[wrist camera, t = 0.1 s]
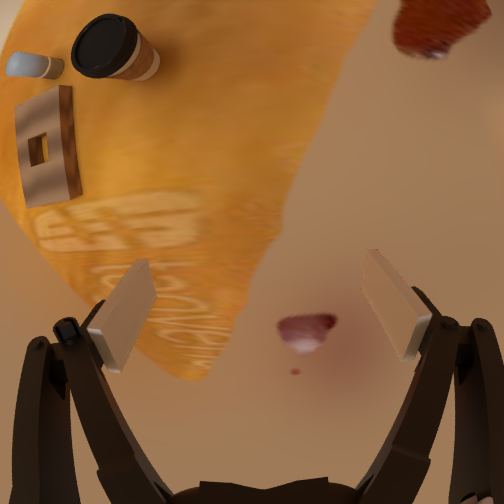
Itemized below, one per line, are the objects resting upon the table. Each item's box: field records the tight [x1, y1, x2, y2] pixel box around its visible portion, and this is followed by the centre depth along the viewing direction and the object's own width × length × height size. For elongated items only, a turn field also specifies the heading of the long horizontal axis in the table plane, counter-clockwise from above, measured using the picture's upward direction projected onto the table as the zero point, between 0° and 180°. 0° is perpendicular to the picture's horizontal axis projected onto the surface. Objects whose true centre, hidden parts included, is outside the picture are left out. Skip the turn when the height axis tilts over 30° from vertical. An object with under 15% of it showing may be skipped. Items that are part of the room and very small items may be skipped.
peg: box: [6, 52, 64, 79], centre depth 26 cm, size 4×4×12 cm
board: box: [15, 85, 82, 209], centre depth 36 cm, size 20×12×4 cm, turn 3°
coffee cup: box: [71, 14, 160, 81], centre depth 26 cm, size 8×8×15 cm
